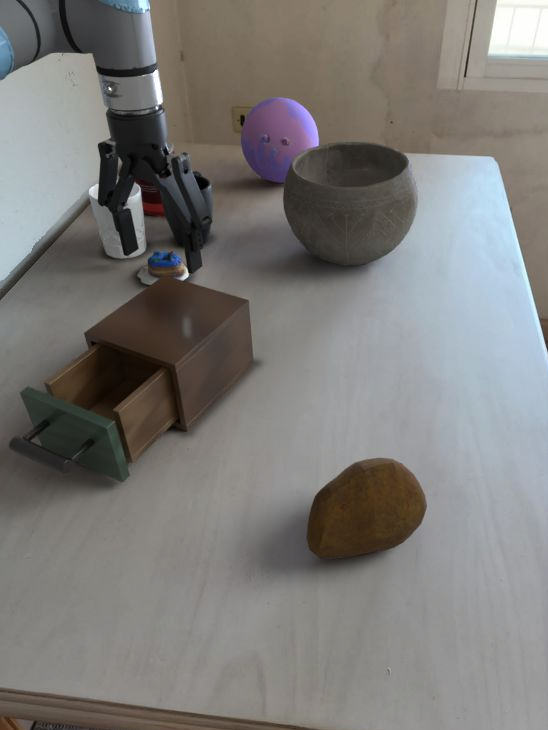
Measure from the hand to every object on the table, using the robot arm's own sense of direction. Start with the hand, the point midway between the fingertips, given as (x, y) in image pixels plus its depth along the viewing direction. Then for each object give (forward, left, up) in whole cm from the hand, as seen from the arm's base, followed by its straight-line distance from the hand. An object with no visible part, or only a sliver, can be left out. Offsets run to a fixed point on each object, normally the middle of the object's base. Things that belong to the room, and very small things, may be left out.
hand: (162, 260), depth 96 cm
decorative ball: (-3, +42, -3) cm, 42 cm away
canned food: (-16, +20, -3) cm, 26 cm away
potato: (+48, -31, -3) cm, 57 cm away
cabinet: (+18, -20, -3) cm, 27 cm away
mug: (-4, +14, -3) cm, 15 cm away
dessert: (0, 0, -3) cm, 3 cm away
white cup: (-11, +4, -3) cm, 12 cm away
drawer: (+18, -33, -2) cm, 37 cm away
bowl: (+22, +21, -3) cm, 30 cm away
